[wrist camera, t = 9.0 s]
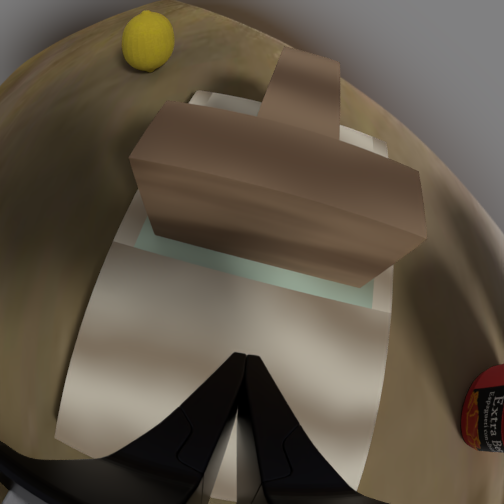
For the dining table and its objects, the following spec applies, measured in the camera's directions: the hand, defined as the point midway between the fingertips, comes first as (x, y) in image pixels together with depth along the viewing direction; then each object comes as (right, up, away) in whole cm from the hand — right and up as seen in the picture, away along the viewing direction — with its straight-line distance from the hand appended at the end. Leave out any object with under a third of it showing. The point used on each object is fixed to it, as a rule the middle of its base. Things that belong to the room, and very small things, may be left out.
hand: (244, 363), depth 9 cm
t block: (+2, +9, +11) cm, 14 cm away
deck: (+1, +3, +9) cm, 10 cm away
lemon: (-11, +23, +17) cm, 31 cm away
